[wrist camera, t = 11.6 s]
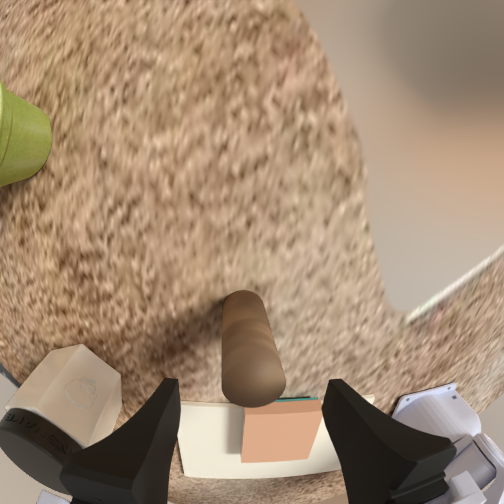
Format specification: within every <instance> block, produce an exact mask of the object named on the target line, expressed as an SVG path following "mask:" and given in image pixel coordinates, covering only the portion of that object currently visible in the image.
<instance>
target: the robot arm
mask: <svg viewBox="0 0 504 504" xmlns="http://www.w3.org/2000/svg"><path fill="white" fill-rule="evenodd" d="M456 385H457V384H456V383H455V382H454V383H450V384H447V385H443V386H440V387H436V388H433V389H429V390H425V391H421V392H417V393H413V394H409V395H404V396H402V397H401V398H400V400H399V402H398V404H397V406H396V408H395V410H394V412H393V414H392V417H390V416H388V415H386V414H385V413H383V412H382V411H380V410H379V409H377V408H376V407H375V406H373V405H372V404H371V403H369V402H368V401H367V400H366V399H364V398H363V397H362V396H361V395H359V394H358V393H357V392H356V391H355V390H354V389H352V388H351V387H350V386H349V385H348V384H347V383H346V382H344V381H343V380H342V379H331V380H329V383H328V387H327V390H326V394H325V397H324V401H323V404H322V407H321V410H322V415H323V419H324V423H325V426H326V429H327V431H328V434H329V437H330V439H331V441H332V444H333V446H334V449H335V451H336V454H337V456H338V459H339V462H340V465H341V469H342V473H343V477H344V481H345V486H346V490H347V496H348V502H349V504H504V454H503V453H502V452H501V450H500V449H499V448H498V447H497V446H496V444H495V443H494V442H493V441H492V440H491V439H490V438H489V437H488V436H487V435H486V434H485V433H481V423H480V419H479V417H478V415H477V414H476V412H475V411H474V410H473V409H472V408H471V407H470V406H469V405H468V404H467V402H466V401H465V400H464V399H463V398H462V397H461V396H460V395H459V394H458V393H457V392H456V391H455V388H456ZM180 416H181V403H180V393H179V383H178V379H171V378H165V379H163V381H162V382H161V384H160V385H159V387H158V388H157V389H156V391H155V392H154V393H153V394H152V396H151V397H150V398H149V399H148V400H147V402H146V403H145V404H144V405H143V406H142V407H141V408H140V409H139V410H138V411H137V412H136V413H135V415H134V416H133V417H131V418H130V419H129V420H128V421H127V422H126V423H125V424H123V425H122V426H121V427H120V428H118V429H117V430H116V431H114V432H113V433H111V434H110V435H108V436H107V437H105V438H104V439H102V440H100V441H98V442H96V443H95V444H93V445H91V446H89V447H86V448H84V449H81V450H79V451H76V452H73V453H70V455H69V456H68V458H67V459H66V461H65V463H64V465H63V467H62V470H61V472H60V474H59V480H60V481H61V483H62V485H63V486H64V487H65V488H66V490H67V491H68V492H69V493H70V494H71V496H72V497H73V498H72V501H71V502H69V501H68V500H66V499H64V498H62V497H60V496H57V495H55V494H52V493H50V492H48V491H46V490H42V491H41V493H40V495H39V498H38V500H37V503H36V504H167V498H168V484H169V473H170V466H171V460H172V456H173V452H174V447H175V443H176V439H177V435H178V430H179V425H180ZM495 477H496V478H495ZM494 478H495V480H494V482H493V483H492V485H491V486H490V487H489V488H488V489H487V490H486V491H484V492H483V493H482V492H481V490H482V489H483V488H484V487H485V486H486V485H488V484H489V483H490V482H491V481H492V480H493V479H494Z"/></svg>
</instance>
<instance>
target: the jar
mask: <svg viewBox="0 0 504 504" xmlns="http://www.w3.org/2000/svg"><path fill="white" fill-rule="evenodd" d="M121 408H122V393H121V374H120V373H119V372H117V371H116V370H115V369H113V368H112V367H111V366H109V365H108V364H107V363H106V362H104V361H103V360H102V359H101V358H99V357H98V356H97V355H96V354H94V353H93V352H92V351H91V350H89V349H88V348H87V347H86V346H85V345H84V344H78V345H73V346H69V347H64V348H60V349H55V350H51V351H50V352H49V353H48V354H47V356H46V357H45V358H44V359H43V360H42V361H41V363H40V364H39V365H38V366H37V367H36V368H35V370H34V371H33V372H32V373H31V374H30V376H29V377H28V378H27V379H26V380H25V382H24V383H23V384H22V385H21V387H20V388H19V389H18V390H17V392H16V393H15V394H14V395H13V397H12V398H11V399H10V400H9V402H8V403H7V404H6V406H5V410H6V412H7V413H6V415H5V416H4V417H3V419H2V420H1V422H0V447H1V448H2V450H3V451H4V452H5V454H6V455H7V456H8V457H9V458H10V459H11V460H12V461H13V462H14V463H15V464H16V465H17V466H18V467H19V468H20V469H22V470H23V471H24V472H25V473H26V474H28V475H29V476H31V477H32V478H33V479H35V480H36V481H38V482H40V483H41V484H43V485H45V486H47V487H49V488H51V489H53V490H55V491H58V492H60V493H63V494H67V495H71V494H70V493H69V492H68V491H67V490H66V488H65V487H64V486H63V485H62V483H61V481H60V480H59V474H60V472H61V470H62V467H63V465H64V463H65V461H66V459H67V458H68V456H69V455H70V453H73V452H76V451H79V450H81V449H84V448H86V447H89V446H91V445H93V444H95V443H96V442H98V441H100V440H102V439H104V438H105V437H107V436H108V435H110V434H111V433H112V431H113V429H114V426H115V423H116V421H117V418H118V416H119V413H120V410H121Z"/></svg>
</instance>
